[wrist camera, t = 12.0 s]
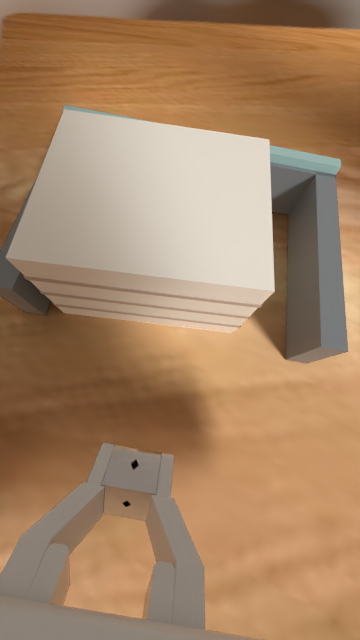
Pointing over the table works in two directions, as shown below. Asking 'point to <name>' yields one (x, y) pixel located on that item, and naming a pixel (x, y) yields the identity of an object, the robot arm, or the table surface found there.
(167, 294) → the tile stack
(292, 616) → the table surface
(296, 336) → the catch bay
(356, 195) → the table surface
